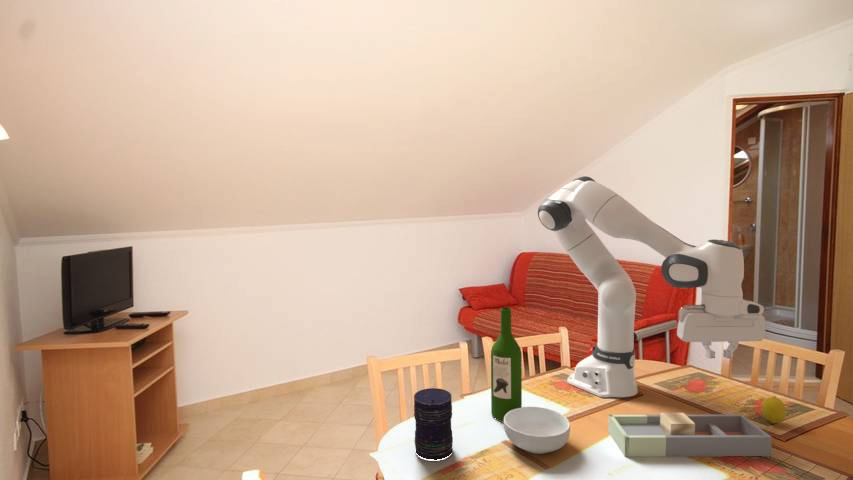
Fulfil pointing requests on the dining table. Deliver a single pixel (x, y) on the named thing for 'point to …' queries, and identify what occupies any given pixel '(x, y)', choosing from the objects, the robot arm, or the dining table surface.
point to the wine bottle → (505, 370)
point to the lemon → (773, 409)
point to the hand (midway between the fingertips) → (719, 357)
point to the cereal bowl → (536, 429)
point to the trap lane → (690, 437)
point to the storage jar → (433, 423)
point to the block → (676, 424)
